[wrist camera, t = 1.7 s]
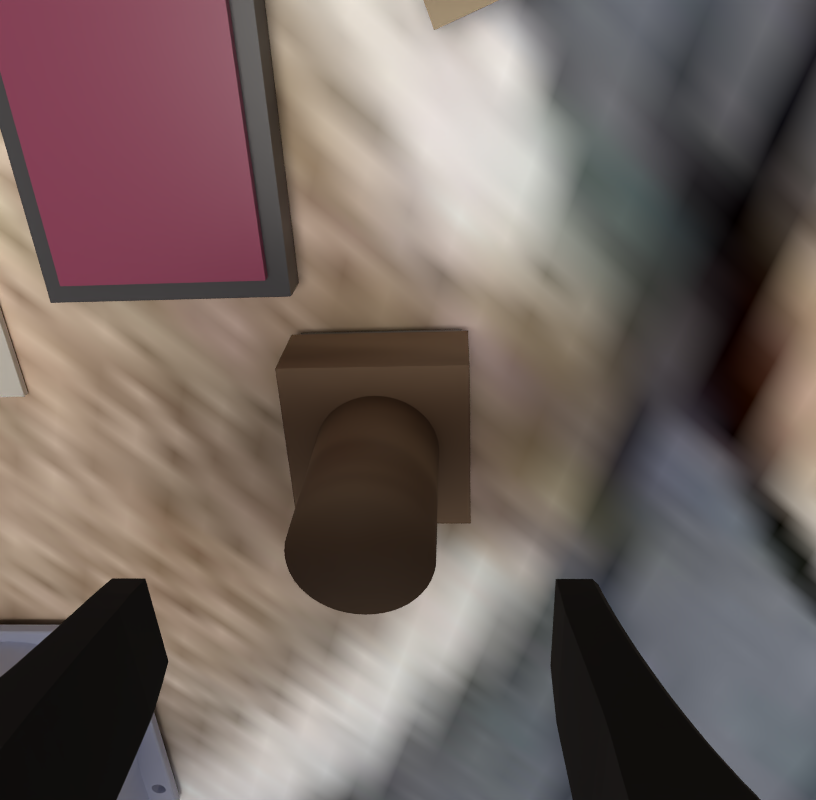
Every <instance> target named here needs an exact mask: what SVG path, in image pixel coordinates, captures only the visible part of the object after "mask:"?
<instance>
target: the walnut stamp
mask: <svg viewBox="0 0 816 800" xmlns="http://www.w3.org/2000/svg"><path fill="white" fill-rule="evenodd" d="M275 370H276V377H277V384H278V391H279V398H280V405H281V412H282V419H283V426H284V433H285V440H286V447H287V454H288V461H289V468H290V474H291V481H292V488H293V495H294V502H295V511H294V514H293V517H292V521H291V524H290V527H289V530H288V534H287V537H286V541H285V549H284V552H285V560H286V564H287V567H288V570H289V572H290V574H291V576H292V577H293V579H294V581H295V582H296V583H297V584H298V586H299V587H300V588H301V589H302V590H303V591H304V592H305V593H306V594H308V595H309V596H310V597H312V598H313V599H314V600H316V601H318V602H319V603H321V604H323V605H325V606H327V607H330V608H333V609H335V610H339V611H343V612H346V613H353V614H379V613H385V612H389V611H393V610H395V609H398V608H401V607H403V606H405V605H407V604H409V603H410V602H412V601H413V600H414V599H416V598H417V597H418V596H419V595H420V594H421V593H422V592H423V591H424V590H425V589H426V588H427V586H428V585H429V583H430V581H431V579H432V577H433V574H434V571H435V567H436V544H437V523H471V516H470V374H469V346H468V331H462V329H461V330H416V331H371V332H326V333H301V335H291V337H290V339H289V341H288V343H287V346H286V348H285V350H284V352H283V354H282V356H281V358H280V360H279V362H278V364H277V366H276V368H275Z"/></svg>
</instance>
